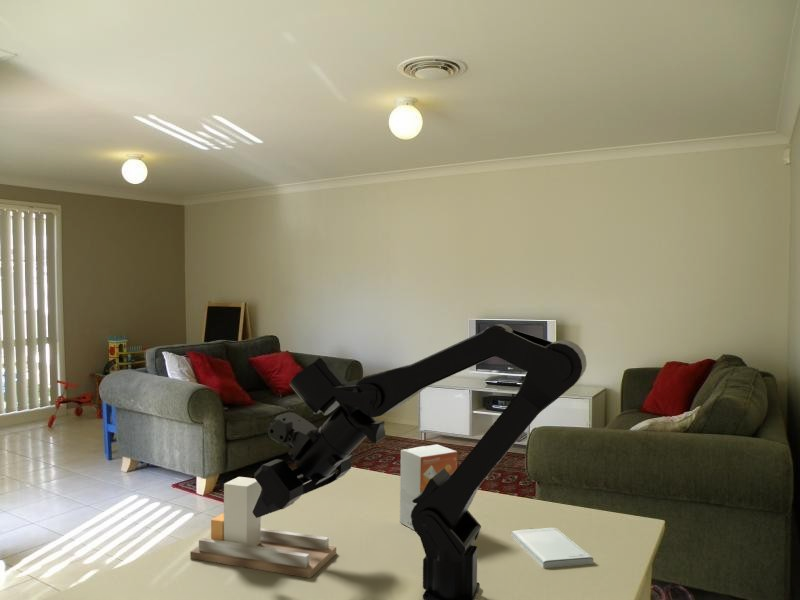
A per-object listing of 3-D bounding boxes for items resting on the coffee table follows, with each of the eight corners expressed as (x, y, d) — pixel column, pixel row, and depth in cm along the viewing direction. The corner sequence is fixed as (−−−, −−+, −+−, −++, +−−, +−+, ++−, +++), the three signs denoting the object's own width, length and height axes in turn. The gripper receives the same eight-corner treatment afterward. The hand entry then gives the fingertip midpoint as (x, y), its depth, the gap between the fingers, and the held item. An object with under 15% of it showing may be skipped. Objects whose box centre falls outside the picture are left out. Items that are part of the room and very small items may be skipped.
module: (260, 542, 99) (260, 479, 99) (246, 552, 95) (246, 486, 95) (238, 539, 100) (238, 476, 100) (223, 549, 96) (224, 483, 96)
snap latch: (238, 537, 100) (238, 511, 100) (222, 547, 96) (222, 521, 96) (227, 535, 101) (227, 510, 101) (211, 545, 97) (211, 519, 97)
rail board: (336, 553, 97) (336, 536, 97) (310, 578, 89) (310, 559, 89) (224, 536, 104) (224, 520, 104) (190, 558, 95) (190, 541, 95)
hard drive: (593, 556, 95) (556, 526, 107) (543, 561, 93) (511, 529, 105) (593, 567, 95) (556, 536, 107) (543, 572, 93) (510, 539, 105)
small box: (419, 534, 106) (420, 456, 105) (398, 522, 111) (399, 449, 111) (457, 525, 110) (458, 450, 110) (435, 514, 115) (436, 443, 115)
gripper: (333, 388, 102) (276, 450, 106) (265, 406, 84) (200, 480, 89) (378, 441, 98) (317, 502, 103) (317, 471, 81) (247, 544, 86)
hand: (273, 505), depth 95 cm, fingers open, 9 cm apart
